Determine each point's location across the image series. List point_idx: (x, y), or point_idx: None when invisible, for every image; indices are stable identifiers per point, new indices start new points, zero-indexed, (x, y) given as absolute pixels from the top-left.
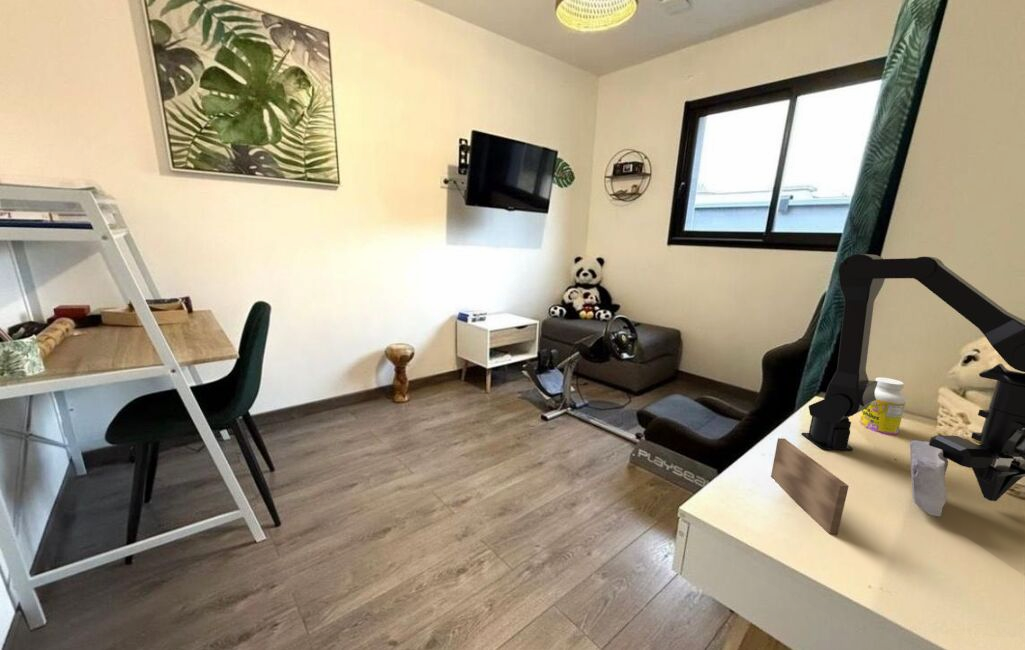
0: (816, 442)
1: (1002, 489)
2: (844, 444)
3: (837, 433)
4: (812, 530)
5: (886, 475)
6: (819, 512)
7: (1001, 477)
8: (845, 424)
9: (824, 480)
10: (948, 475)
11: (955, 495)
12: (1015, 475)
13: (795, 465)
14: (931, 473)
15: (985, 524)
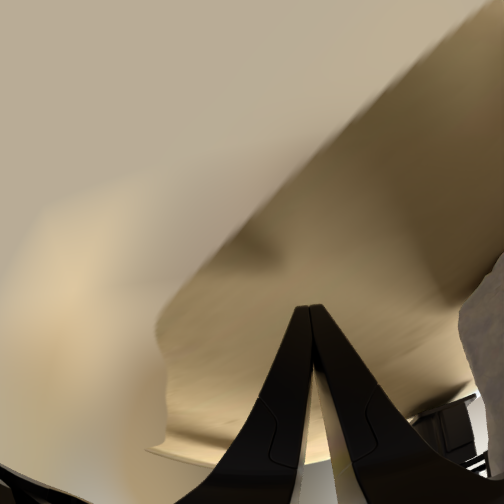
0: (467, 405)
1: (307, 369)
2: (450, 417)
3: (472, 433)
4: None
5: (439, 361)
6: None
7: (385, 451)
8: (458, 459)
9: None
10: (249, 395)
11: (347, 328)
12: (292, 492)
13: None
14: None
15: (449, 156)
